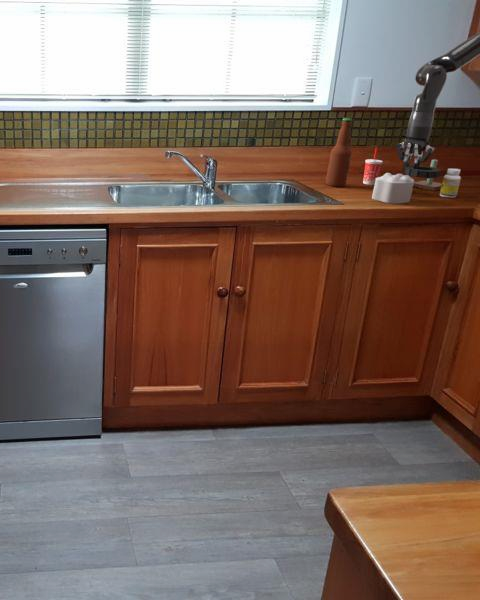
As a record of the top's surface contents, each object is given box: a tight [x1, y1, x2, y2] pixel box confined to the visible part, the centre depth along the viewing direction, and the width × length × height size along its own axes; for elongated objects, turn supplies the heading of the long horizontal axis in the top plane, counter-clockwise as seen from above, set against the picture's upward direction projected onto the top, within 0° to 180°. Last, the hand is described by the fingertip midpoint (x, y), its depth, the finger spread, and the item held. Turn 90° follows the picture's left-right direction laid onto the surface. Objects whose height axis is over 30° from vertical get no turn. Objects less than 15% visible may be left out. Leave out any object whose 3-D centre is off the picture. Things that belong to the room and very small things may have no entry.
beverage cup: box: [362, 147, 384, 186], centre depth 237 cm, size 6×6×14 cm
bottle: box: [325, 117, 353, 188], centre depth 231 cm, size 7×7×25 cm
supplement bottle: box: [439, 168, 462, 199], centre depth 219 cm, size 5×5×10 cm
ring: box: [403, 165, 442, 179], centre depth 220 cm, size 11×11×2 cm
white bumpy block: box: [371, 172, 415, 204], centre depth 213 cm, size 10×13×9 cm
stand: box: [413, 159, 442, 192], centre depth 233 cm, size 9×9×10 cm
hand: (409, 172), depth 224 cm, fingers closed on ring, 2 cm apart
